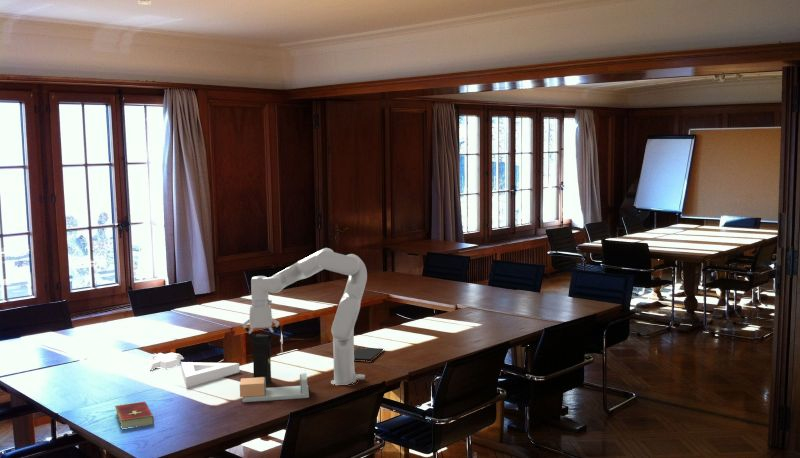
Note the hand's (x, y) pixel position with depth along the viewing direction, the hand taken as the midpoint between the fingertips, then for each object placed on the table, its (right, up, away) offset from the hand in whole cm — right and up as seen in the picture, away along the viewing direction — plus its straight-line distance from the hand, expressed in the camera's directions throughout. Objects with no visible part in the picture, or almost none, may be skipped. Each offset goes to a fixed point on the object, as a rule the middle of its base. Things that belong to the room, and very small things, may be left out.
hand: (261, 340), depth 336 cm
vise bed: (+9, -21, -16) cm, 28 cm away
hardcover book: (-42, -25, -44) cm, 66 cm away
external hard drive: (+45, -17, +46) cm, 66 cm away
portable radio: (+1, -20, +1) cm, 20 cm away
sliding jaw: (0, -20, -18) cm, 27 cm away
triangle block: (-26, -21, +14) cm, 36 cm away
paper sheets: (-56, -20, +38) cm, 70 cm away
